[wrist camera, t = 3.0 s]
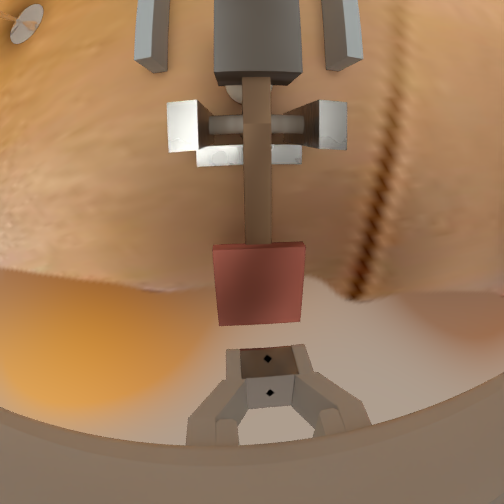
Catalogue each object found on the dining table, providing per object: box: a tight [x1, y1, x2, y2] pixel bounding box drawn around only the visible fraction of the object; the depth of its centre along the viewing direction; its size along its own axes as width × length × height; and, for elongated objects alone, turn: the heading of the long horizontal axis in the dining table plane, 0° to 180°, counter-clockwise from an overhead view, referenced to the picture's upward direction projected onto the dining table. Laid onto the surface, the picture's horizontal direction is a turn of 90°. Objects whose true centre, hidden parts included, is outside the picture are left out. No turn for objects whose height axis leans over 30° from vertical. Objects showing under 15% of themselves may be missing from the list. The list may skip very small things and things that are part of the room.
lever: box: [209, 0, 306, 326], centre depth 17 cm, size 5×19×10 cm, turn 1°
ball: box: [226, 85, 273, 104], centre depth 19 cm, size 4×4×4 cm
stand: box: [167, 100, 347, 167], centre depth 17 cm, size 8×4×10 cm, turn 91°
